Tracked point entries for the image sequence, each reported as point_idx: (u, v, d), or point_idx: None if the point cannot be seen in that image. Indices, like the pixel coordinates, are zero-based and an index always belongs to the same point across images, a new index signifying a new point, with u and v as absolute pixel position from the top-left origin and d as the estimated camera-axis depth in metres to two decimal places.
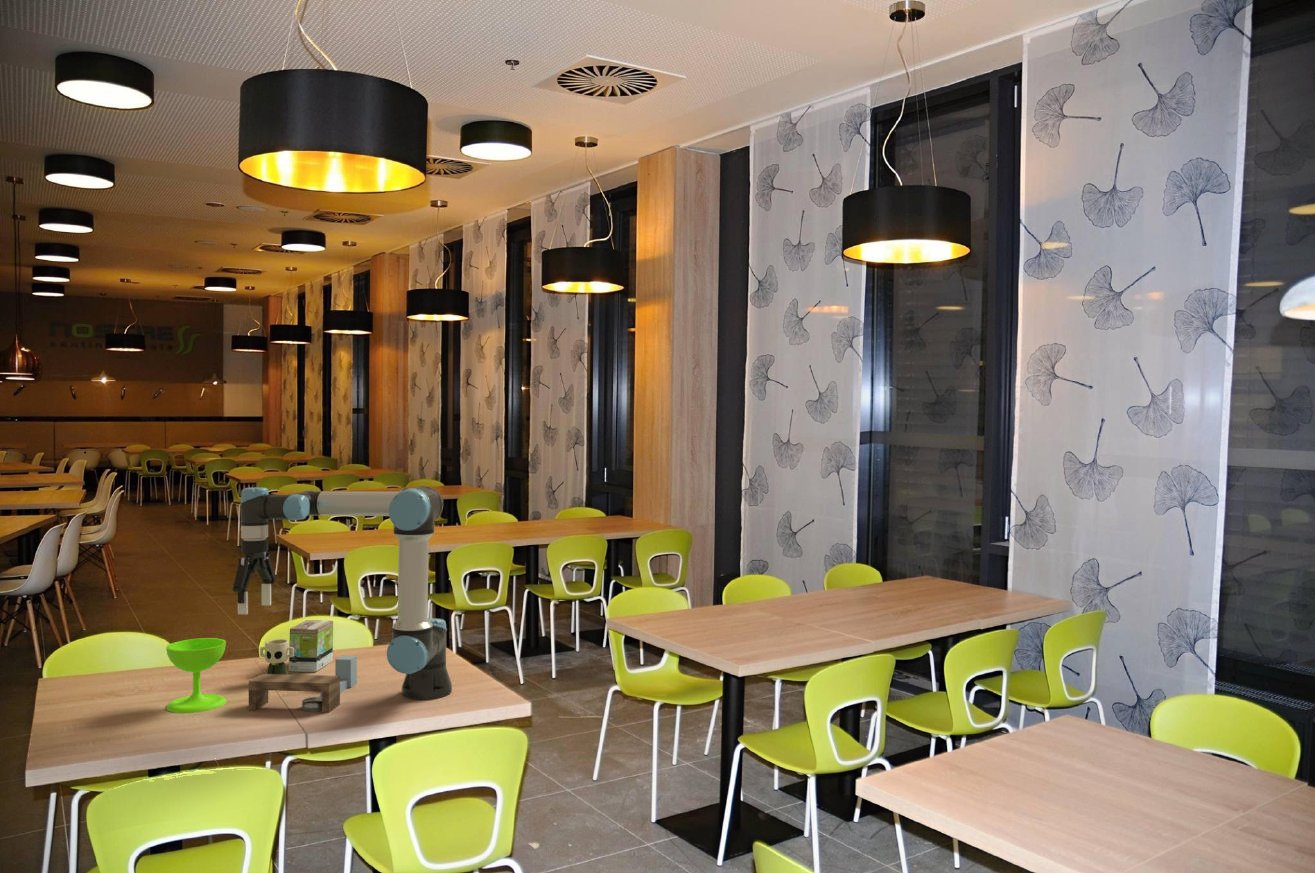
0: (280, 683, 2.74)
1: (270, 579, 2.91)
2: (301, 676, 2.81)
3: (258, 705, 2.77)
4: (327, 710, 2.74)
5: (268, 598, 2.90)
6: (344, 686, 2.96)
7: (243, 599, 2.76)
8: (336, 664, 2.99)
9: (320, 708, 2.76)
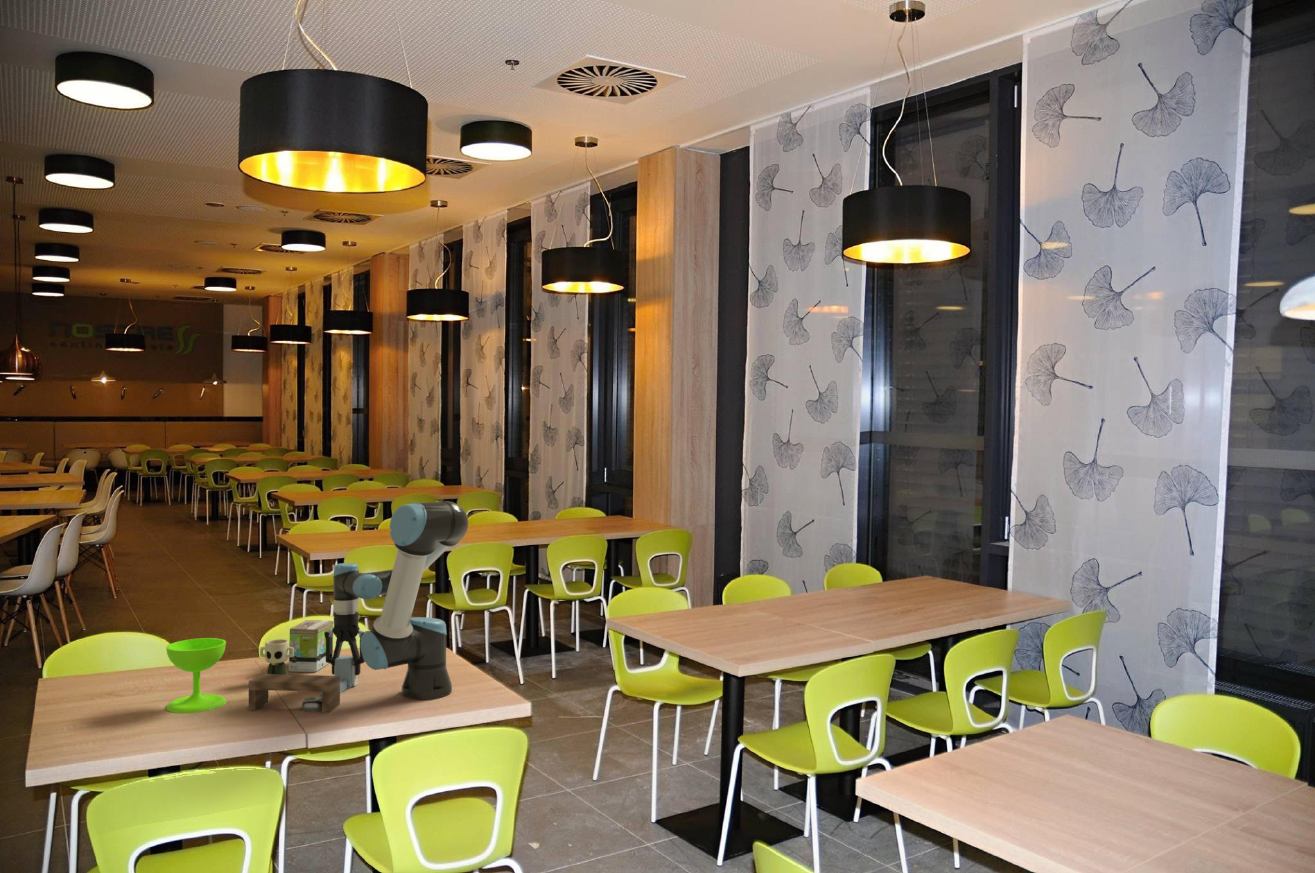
0: (280, 683, 2.74)
1: (355, 660, 3.00)
2: (301, 676, 2.81)
3: (258, 705, 2.77)
4: (327, 710, 2.74)
5: None
6: (344, 686, 2.96)
7: (333, 671, 3.01)
8: (336, 664, 2.99)
9: (321, 708, 2.76)
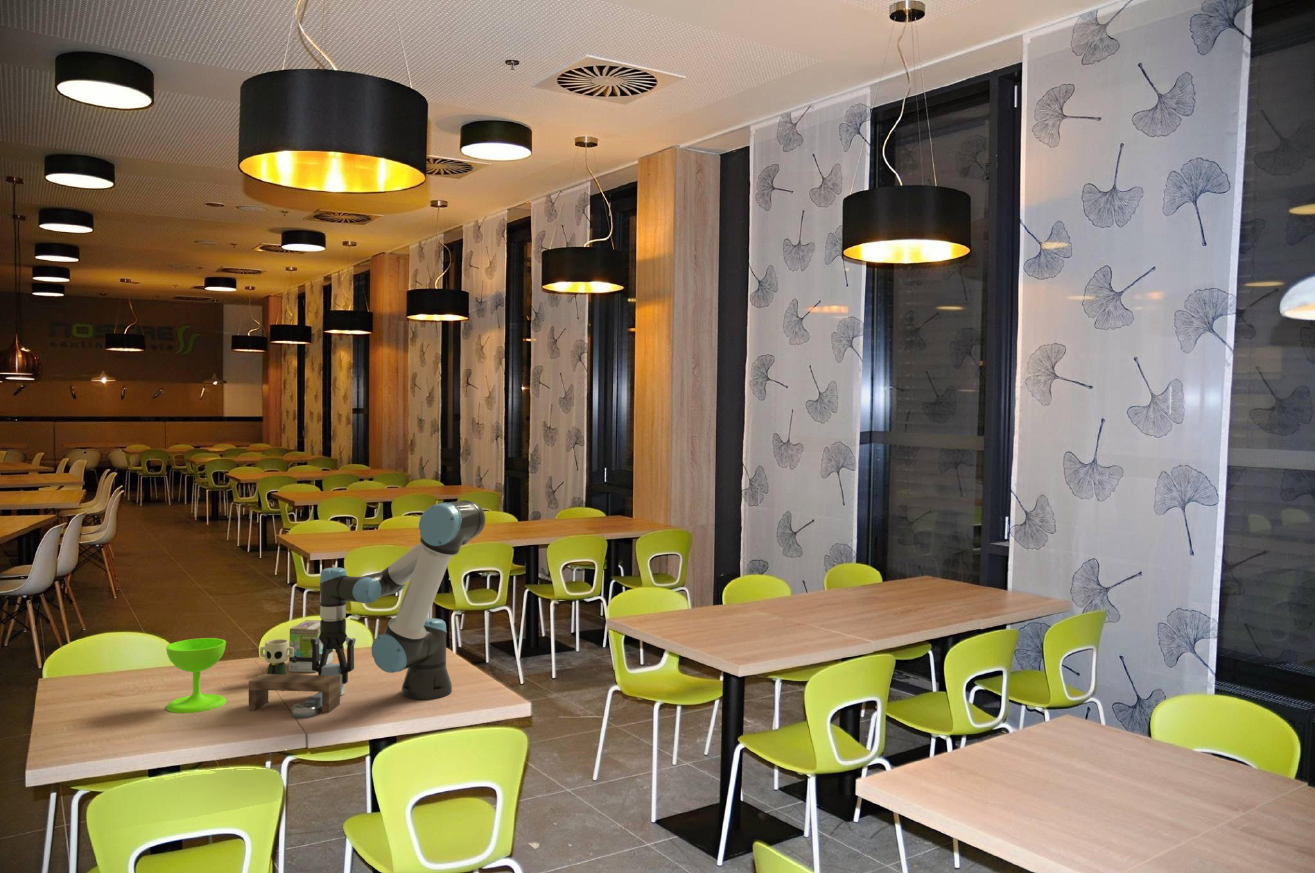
0: (280, 683, 2.74)
1: (342, 668, 2.90)
2: (301, 676, 2.81)
3: (258, 705, 2.77)
4: (327, 710, 2.74)
5: None
6: None
7: None
8: (322, 672, 2.89)
9: (311, 714, 2.70)
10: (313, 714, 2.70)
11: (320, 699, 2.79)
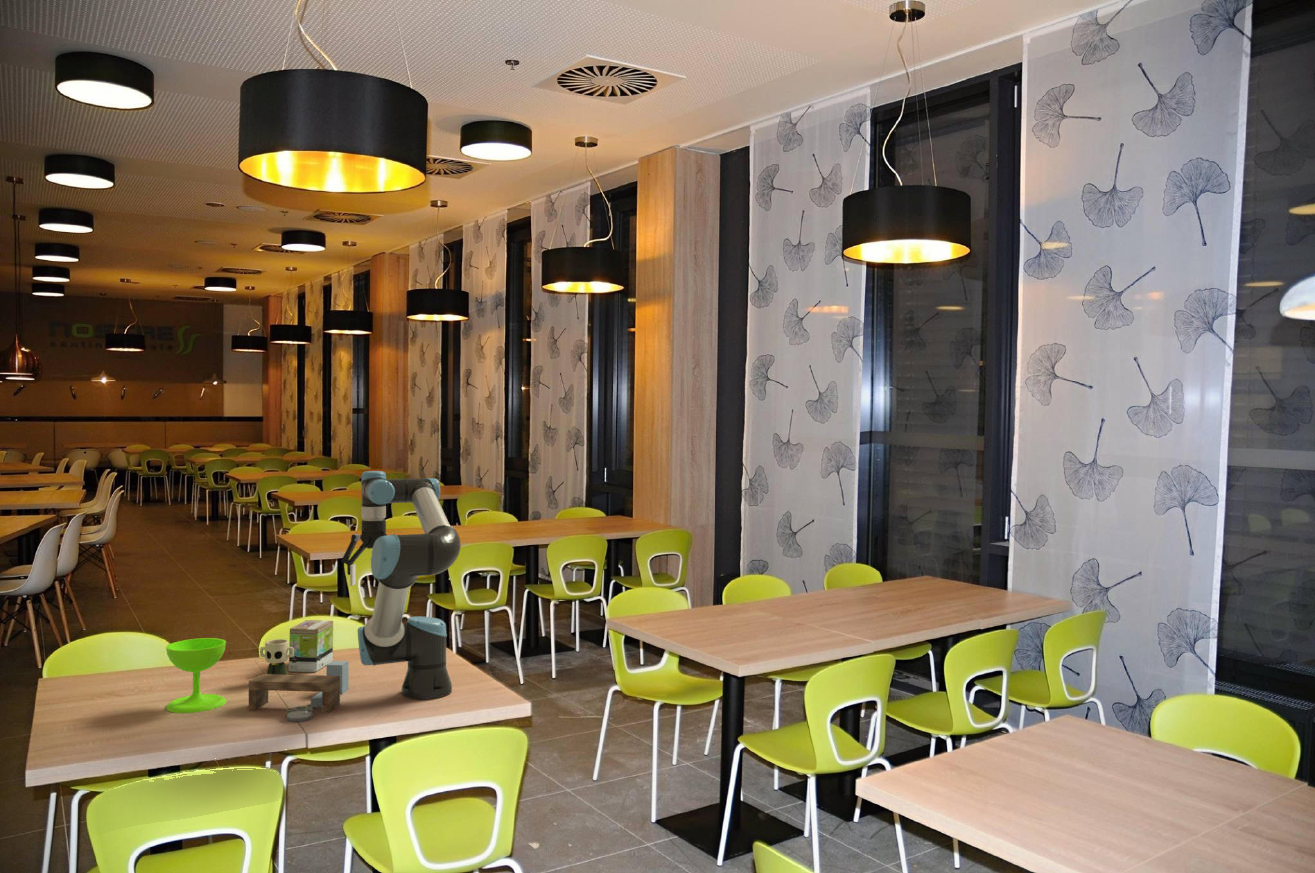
0: (280, 683, 2.74)
1: None
2: (301, 676, 2.81)
3: (258, 705, 2.77)
4: (327, 710, 2.74)
5: None
6: None
7: (349, 571, 3.03)
8: (327, 670, 2.92)
9: (307, 718, 2.66)
10: (309, 718, 2.67)
11: None
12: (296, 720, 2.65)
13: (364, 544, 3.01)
